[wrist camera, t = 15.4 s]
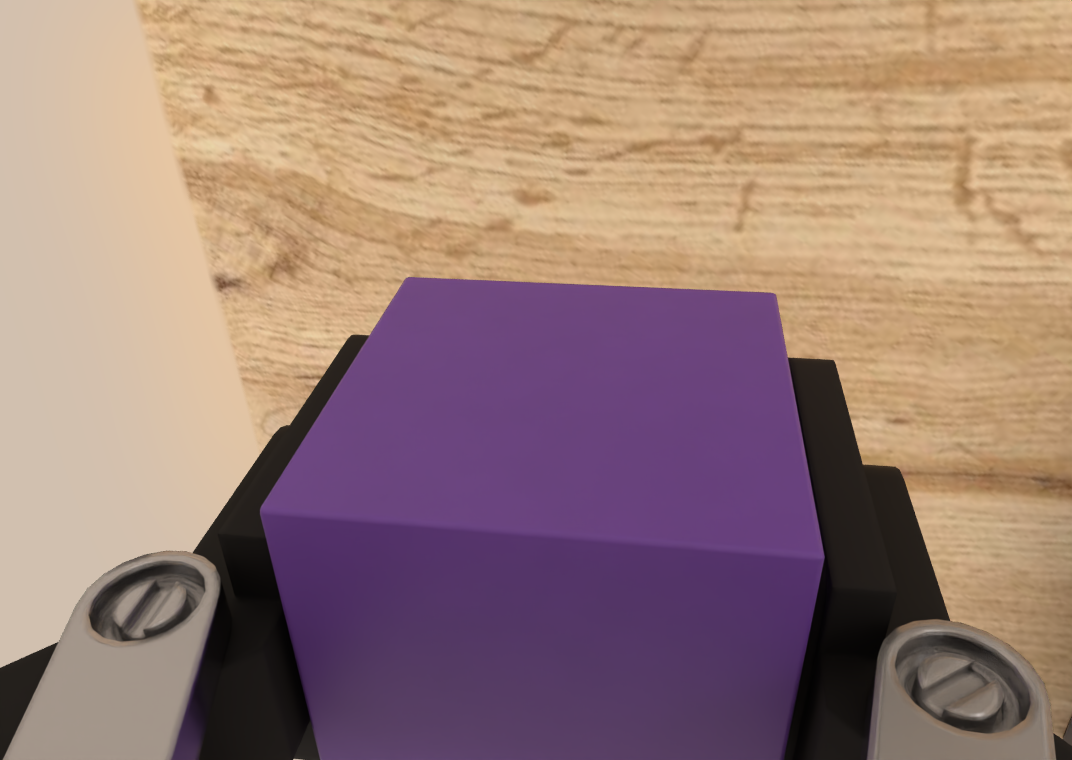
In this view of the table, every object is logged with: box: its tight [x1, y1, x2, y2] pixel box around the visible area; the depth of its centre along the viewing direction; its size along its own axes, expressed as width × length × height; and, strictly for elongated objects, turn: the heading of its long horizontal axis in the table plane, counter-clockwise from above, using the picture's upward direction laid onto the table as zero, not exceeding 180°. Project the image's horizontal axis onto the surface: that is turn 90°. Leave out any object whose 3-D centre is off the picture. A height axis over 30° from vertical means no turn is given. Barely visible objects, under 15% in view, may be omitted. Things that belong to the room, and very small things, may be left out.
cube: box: [260, 277, 825, 760], centre depth 10 cm, size 4×4×4 cm
